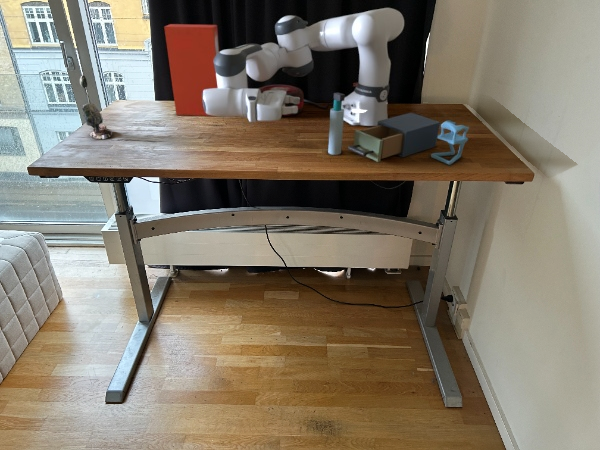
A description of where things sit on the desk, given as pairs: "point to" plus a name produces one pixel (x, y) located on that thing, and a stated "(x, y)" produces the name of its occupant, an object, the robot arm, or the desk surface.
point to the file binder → (191, 64)
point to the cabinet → (414, 132)
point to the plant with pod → (94, 117)
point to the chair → (451, 141)
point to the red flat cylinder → (289, 91)
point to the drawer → (377, 142)
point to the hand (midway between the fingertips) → (298, 105)
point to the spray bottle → (336, 125)
